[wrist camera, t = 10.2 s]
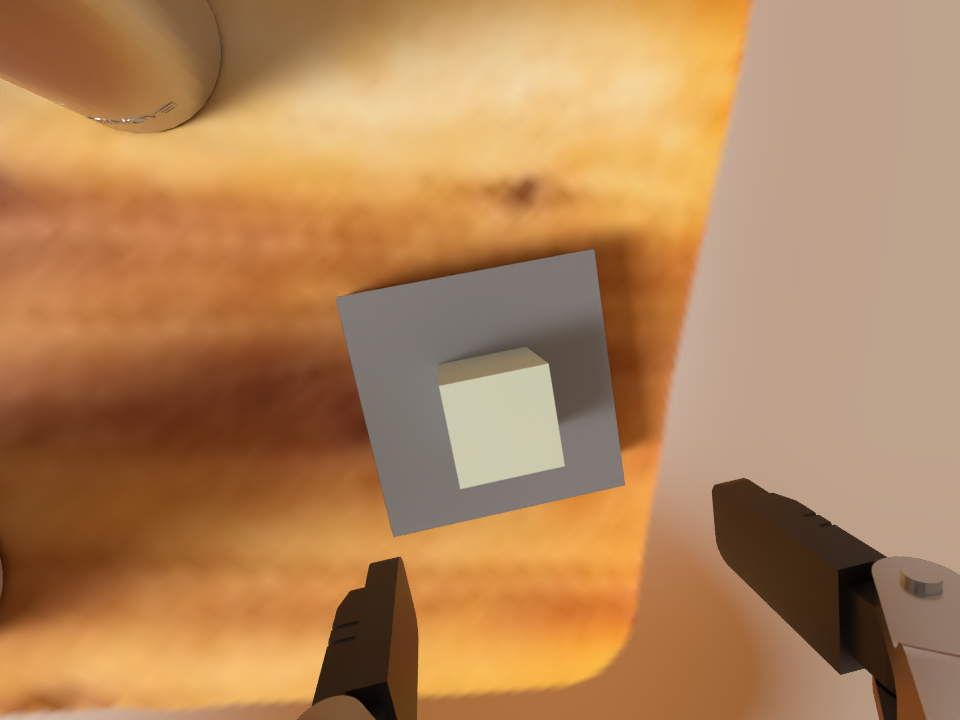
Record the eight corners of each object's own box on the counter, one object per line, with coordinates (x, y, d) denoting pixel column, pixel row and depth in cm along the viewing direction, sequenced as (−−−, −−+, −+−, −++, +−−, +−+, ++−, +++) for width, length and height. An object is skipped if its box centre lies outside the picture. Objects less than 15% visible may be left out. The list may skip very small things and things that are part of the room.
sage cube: (437, 364, 26) (438, 386, 21) (526, 346, 26) (548, 363, 21) (454, 449, 26) (460, 489, 22) (540, 431, 27) (564, 466, 22)
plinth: (348, 294, 28) (335, 297, 24) (572, 252, 29) (594, 248, 25) (398, 503, 31) (393, 537, 27) (601, 459, 32) (625, 485, 28)
